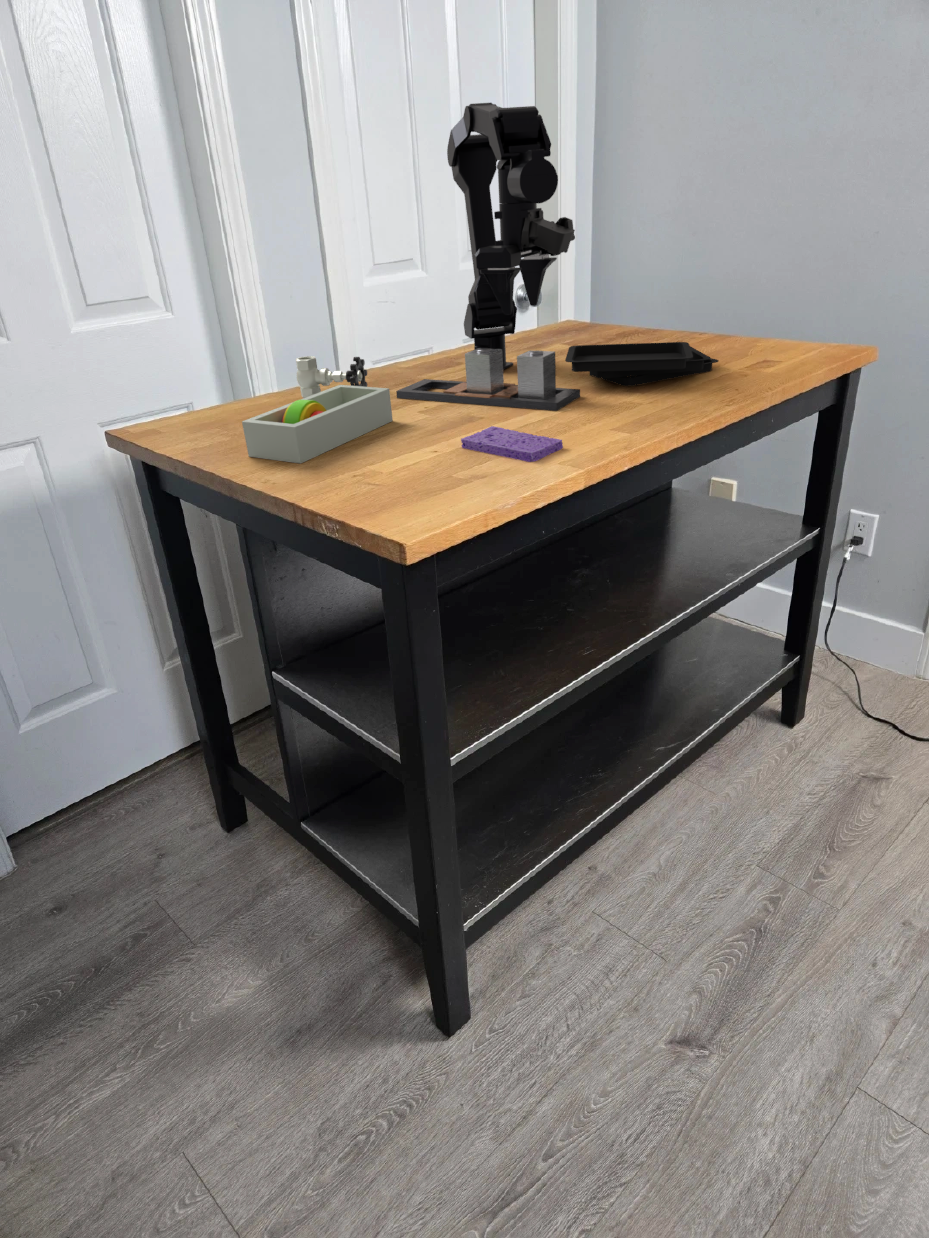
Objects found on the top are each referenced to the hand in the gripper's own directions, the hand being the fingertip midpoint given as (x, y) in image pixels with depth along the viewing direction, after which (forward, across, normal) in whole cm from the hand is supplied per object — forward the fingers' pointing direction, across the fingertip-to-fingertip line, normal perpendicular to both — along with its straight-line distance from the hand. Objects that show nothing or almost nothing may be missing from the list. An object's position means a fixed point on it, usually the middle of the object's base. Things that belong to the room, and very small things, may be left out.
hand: (521, 309), depth 134 cm
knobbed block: (+13, -6, +4) cm, 15 cm away
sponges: (+14, -30, -13) cm, 35 cm away
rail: (+13, -6, +4) cm, 15 cm away
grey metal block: (+13, -6, -6) cm, 15 cm away
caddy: (+13, -34, +16) cm, 40 cm away
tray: (+13, +14, -16) cm, 25 cm away
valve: (+13, -12, +32) cm, 37 cm away
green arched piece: (+13, -34, +16) cm, 40 cm away
